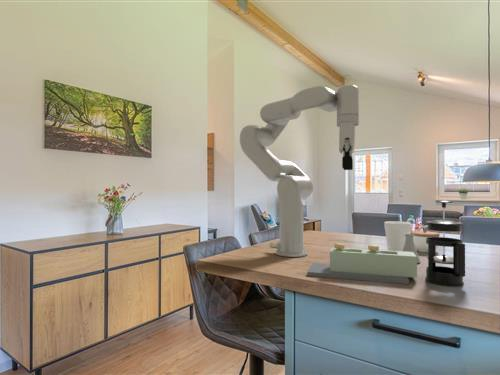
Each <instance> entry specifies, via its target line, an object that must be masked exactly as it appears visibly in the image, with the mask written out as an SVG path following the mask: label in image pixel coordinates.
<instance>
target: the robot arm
mask: <svg viewBox="0 0 500 375" xmlns="http://www.w3.org/2000/svg"><path fill="white" fill-rule="evenodd" d="M359 97H360V96H359V87H358V86H357V85H354V84H345V85H341V86H340V87H338V88H337V90H333V89H331V88H328V87H326V86H323V85H318V86H317V85H316V86H313V87H308V88H305V89H301V90H299V91H298V92H296V93H295V94H294V95H293V96H292V97H289V98H285V99H281V100H277V101H273V102H270V103H267V104H265V105H263V106H262V107H261V109H260V112H259V115H260V118H261V120H262V121H263V122H264V123H266V125H265V126H261V125H257V124H249V125H246V126H243V128H242V129H241V131H240V134H239V144H240V149H241V150H242V152H243V153H244V155H245V156H246V157H247V158H248V159H249V161H251V162H252V163H253V164H254V165H255V166H256V167H257V168H258V169H259V171H260V172H261V173H262V174H263V175H264V176H265V177H266V178H267V179H268V180H270V181H271V182H277V184H276V191H277V197H278V205H279V206H278V207H279V209H278V210H279V215H278V216H279V241H278V242H270V243H269V249H276V250H275V254H276V255H277V256H280V257H287V258H299V257H306V256H307V255H308V250H306V249H304V206H303V201H302V199H306V198H308V197H310V196H311V195H312V194H313V192H314V184H313V182H312V180H311V178H309V176H308V175H307V174H306V173H304V171H302V169H300V167H298V166H297V165H296V164H295V163H294V162H292V161H290V160H287V159H283V158H282V159H281V158H278V157H277V156H275V155H274V154H273V153H272V152H271V151H270V150H269V149H268V148H267V147H270V146H271V145H273V144H274V143H275V142H276V140H277V139H278V138H279V136H280V135H281V134H282V133H283V131H284V130H285V128H287V126H288V124H289V122H290V121H292V120H296V119H298V118H299V117H300V116H301V113H302V112H303V111H305V110H309V109H315V108H317V109H318V108H319V109H320V110H323V111H326V112H329V113H331V112H335V111H336V127H338V129H339V130H338V131H339V133H338V134H339V138H338V140H339V141H338V142H339V143H338V152H339V153H340V154H341V155H342V158H341V159H342V160H341V161H342V163H341V164H342V165H341V166H342V169H343V170H344V171H353V168H354V164H353V163H354V162H353V160H354V159H353V154H354V152H355V146H356V145H355V141H356V127H357V126H359V124H360V120H359V116H360V114H359V110H360V109H359V108H360V105H359V104H360V103H359V100H360V98H359Z"/></svg>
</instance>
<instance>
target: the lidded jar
mask: <svg viewBox="0 0 500 375" xmlns="http://www.w3.org/2000/svg"><path fill="white" fill-rule="evenodd" d="M410 234H414V236H413V240H414V245H415V248H416V251H417V252H421V253H428V244H427V243H426V238H428V237H441V236H440V233H439V232H438V231H431V230H430V231H429V230H428V231H427V228H423V230H413V231H410ZM438 247H439V246H436V249H437V248H438Z"/></svg>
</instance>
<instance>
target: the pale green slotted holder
mask: <svg viewBox="0 0 500 375" xmlns="http://www.w3.org/2000/svg"><path fill="white" fill-rule="evenodd" d="M329 264H330V271H336V272H349V273H362V274H375V275H388V276H401V277H408V278H415V279H417V278H418V263H417V256H416V255H415V254H414V252H405V251H388V249H386V250H383V249H379V250H378V251H376V253H372V252H371V250H368V248H367V249H365V248H350V247H349V248H348V247H347V248H345V247H344V249H342V251H337V249H336V248H335V247H331V248H330V250H329Z"/></svg>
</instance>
